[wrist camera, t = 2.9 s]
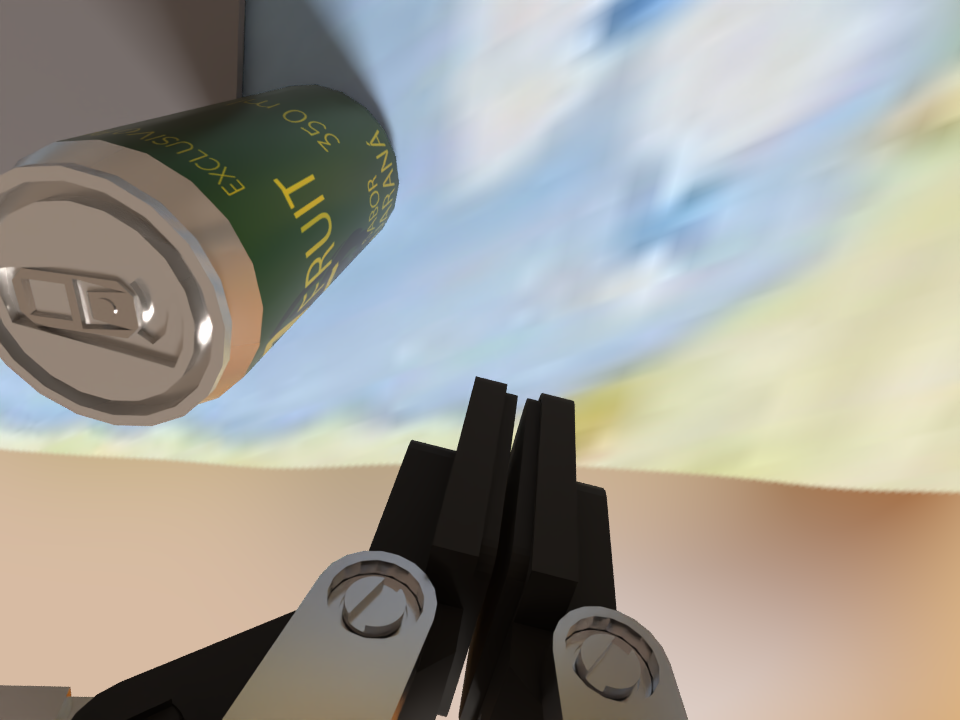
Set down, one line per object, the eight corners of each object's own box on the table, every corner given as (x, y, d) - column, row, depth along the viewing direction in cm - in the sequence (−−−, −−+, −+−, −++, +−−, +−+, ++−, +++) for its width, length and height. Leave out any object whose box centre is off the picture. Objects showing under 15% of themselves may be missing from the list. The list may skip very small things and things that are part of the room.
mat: (250, -144, 18) (243, -147, 18) (233, 350, 26) (228, 354, 25) (-228, -262, 18) (-245, -268, 18) (-103, 262, 26) (-112, 265, 26)
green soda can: (255, 235, 23) (-11, 414, 13) (242, 72, 21) (-103, 130, 10) (401, 254, 23) (249, 456, 12) (407, 91, 20) (221, 171, 10)
